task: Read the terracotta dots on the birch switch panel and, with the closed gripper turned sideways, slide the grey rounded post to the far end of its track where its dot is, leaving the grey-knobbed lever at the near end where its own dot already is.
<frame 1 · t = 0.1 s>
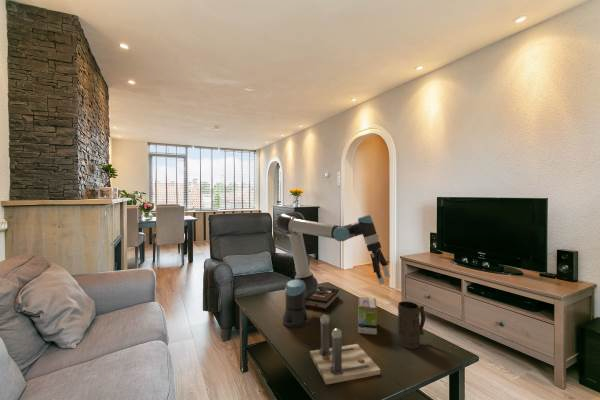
hand: (385, 280, 153), 28 cm above the table, tool tilted 20°, fingers open, 13 cm apart
grey lever: (324, 333, 129), point 11 cm above the table, slide at 0.0 cm
switch panel: (343, 364, 124), on the table
decorative book: (321, 303, 196), on the table
grey rounded post: (336, 350, 116), point 11 cm above the table, slide at 0.0 cm
tea box: (367, 328, 158), on the table
beer stein: (411, 342, 143), on the table
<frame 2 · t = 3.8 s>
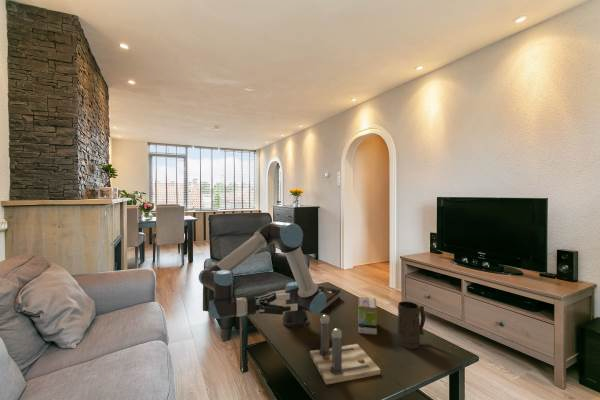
hand: (293, 301, 129), 26 cm above the table, tool horizontal, fingers open, 13 cm apart
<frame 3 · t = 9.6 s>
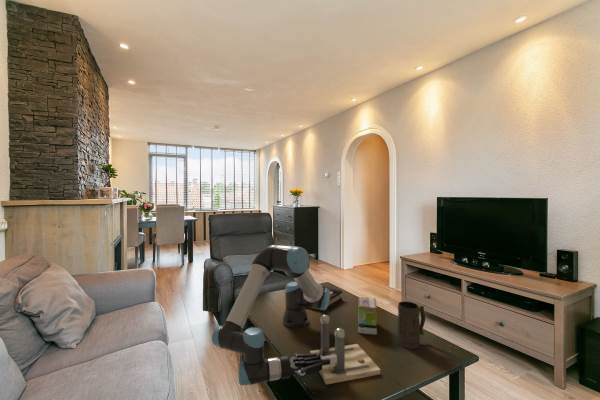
hand: (336, 358, 115), 8 cm above the table, tool horizontal, fingers closed
grey rounded post: (339, 349, 116), point 11 cm above the table, slide at 1.3 cm, touching gripper
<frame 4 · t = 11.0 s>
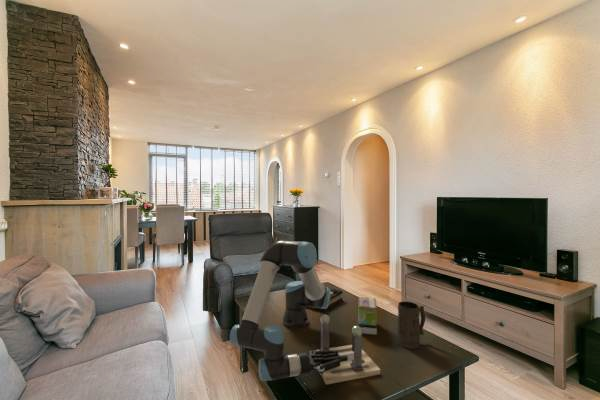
hand: (353, 355, 117), 8 cm above the table, tool horizontal, fingers closed
grey rounded post: (356, 346, 118), point 11 cm above the table, slide at 9.0 cm, touching gripper
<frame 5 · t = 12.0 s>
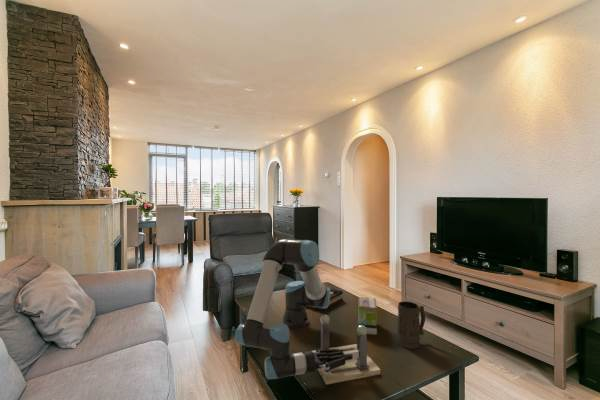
hand: (358, 353, 118), 8 cm above the table, tool horizontal, fingers closed
grey rounded post: (361, 346, 119), point 11 cm above the table, slide at 11.3 cm, touching gripper
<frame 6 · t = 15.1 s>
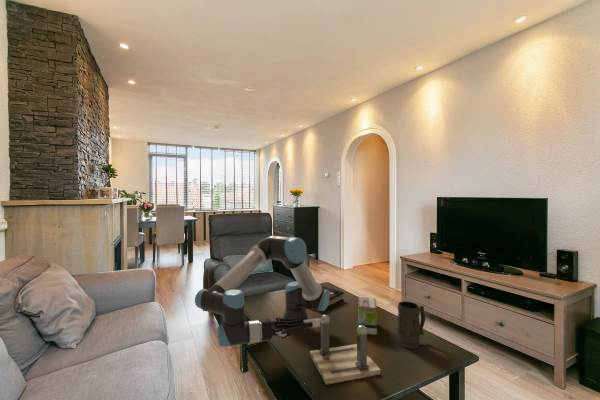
hand: (319, 322, 113), 24 cm above the table, tool horizontal, fingers closed
grey rounded post: (361, 346, 119), point 11 cm above the table, slide at 11.3 cm
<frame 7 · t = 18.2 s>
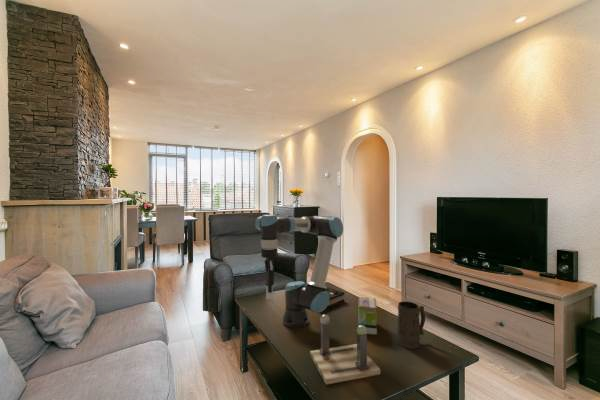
hand: (269, 298, 131), 26 cm above the table, tool pointing down, fingers closed
at the end: grey rounded post slide at 11.3 cm; grey lever slide at 0.0 cm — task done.
